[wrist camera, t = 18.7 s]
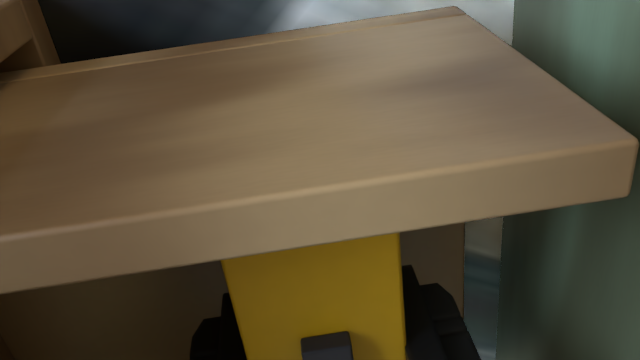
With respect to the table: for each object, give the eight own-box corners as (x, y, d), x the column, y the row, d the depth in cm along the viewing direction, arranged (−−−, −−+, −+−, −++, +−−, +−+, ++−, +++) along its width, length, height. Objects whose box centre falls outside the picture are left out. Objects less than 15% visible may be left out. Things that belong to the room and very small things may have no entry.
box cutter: (225, 169, 11) (214, 264, 9) (371, 147, 11) (405, 235, 9) (286, 426, 15) (291, 545, 13) (393, 409, 15) (421, 524, 13)
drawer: (816, -90, 12) (1433, -37, 6) (686, 348, 19) (903, 595, 13) (-155, 51, 12) (-653, 279, 5) (68, 448, 19) (-32, 757, 12)
